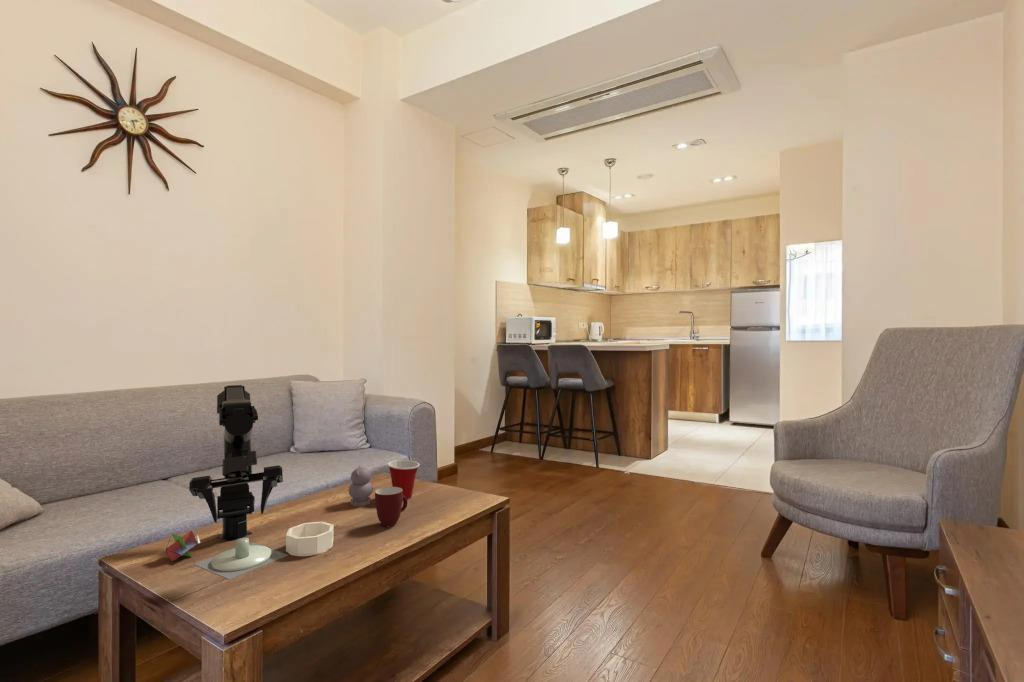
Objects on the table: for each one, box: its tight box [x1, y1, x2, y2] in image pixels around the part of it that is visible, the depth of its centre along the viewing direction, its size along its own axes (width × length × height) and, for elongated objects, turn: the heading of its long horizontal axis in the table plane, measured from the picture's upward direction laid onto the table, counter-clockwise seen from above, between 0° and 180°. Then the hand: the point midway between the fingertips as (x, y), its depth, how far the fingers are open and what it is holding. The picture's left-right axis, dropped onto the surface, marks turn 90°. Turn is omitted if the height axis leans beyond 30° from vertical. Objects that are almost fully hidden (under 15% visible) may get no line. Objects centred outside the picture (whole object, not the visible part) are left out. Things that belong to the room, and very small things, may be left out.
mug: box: [374, 486, 408, 528], centre depth 150 cm, size 11×8×10 cm
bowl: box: [285, 521, 335, 557], centre depth 132 cm, size 11×11×5 cm
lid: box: [211, 537, 272, 572], centre depth 124 cm, size 13×13×5 cm
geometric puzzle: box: [164, 530, 201, 562], centre depth 125 cm, size 7×7×8 cm
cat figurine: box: [348, 464, 374, 507], centre depth 168 cm, size 8×8×12 cm
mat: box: [193, 542, 289, 580], centre depth 124 cm, size 15×15×1 cm
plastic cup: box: [387, 459, 420, 500], centre depth 174 cm, size 11×11×12 cm
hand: (239, 517), depth 113 cm, fingers open, 9 cm apart
